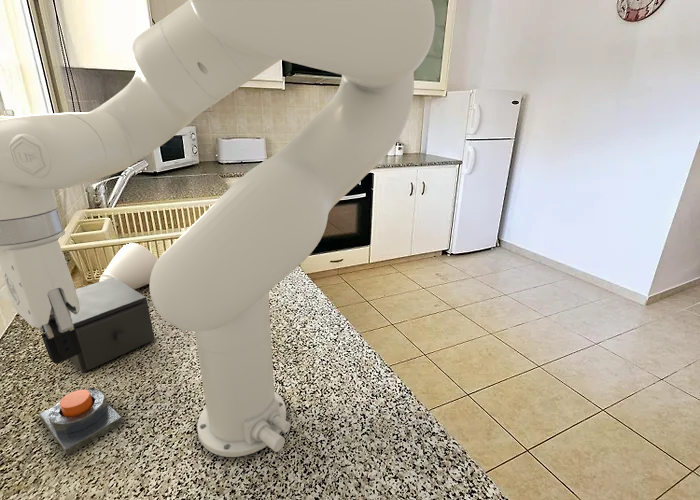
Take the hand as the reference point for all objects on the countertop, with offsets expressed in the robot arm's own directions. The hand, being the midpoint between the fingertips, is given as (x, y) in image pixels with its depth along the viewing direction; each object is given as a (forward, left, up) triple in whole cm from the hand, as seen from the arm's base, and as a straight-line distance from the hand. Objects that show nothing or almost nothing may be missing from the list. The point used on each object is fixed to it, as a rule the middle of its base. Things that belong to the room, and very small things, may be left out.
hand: (66, 356), depth 50 cm
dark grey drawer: (+17, -10, -11) cm, 22 cm away
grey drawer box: (+19, -10, -12) cm, 25 cm away
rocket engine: (+38, -20, -12) cm, 44 cm away
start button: (+1, 0, -9) cm, 9 cm away
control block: (+1, 0, -12) cm, 12 cm away
